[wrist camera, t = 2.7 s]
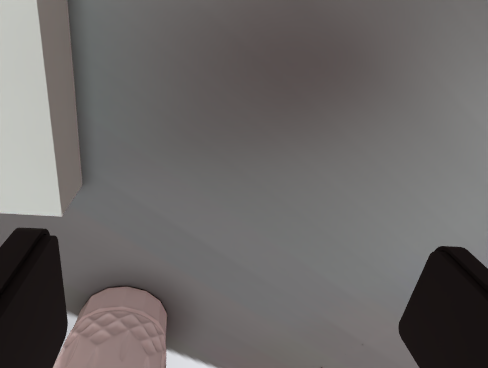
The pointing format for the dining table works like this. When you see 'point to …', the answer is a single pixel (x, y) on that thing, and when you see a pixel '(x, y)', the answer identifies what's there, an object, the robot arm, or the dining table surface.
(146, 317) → the pink cup
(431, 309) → the robot arm
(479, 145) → the dining table surface
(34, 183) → the carton
